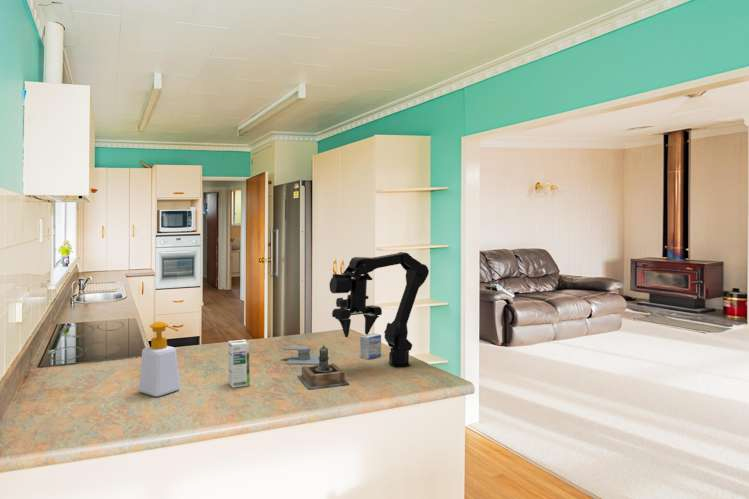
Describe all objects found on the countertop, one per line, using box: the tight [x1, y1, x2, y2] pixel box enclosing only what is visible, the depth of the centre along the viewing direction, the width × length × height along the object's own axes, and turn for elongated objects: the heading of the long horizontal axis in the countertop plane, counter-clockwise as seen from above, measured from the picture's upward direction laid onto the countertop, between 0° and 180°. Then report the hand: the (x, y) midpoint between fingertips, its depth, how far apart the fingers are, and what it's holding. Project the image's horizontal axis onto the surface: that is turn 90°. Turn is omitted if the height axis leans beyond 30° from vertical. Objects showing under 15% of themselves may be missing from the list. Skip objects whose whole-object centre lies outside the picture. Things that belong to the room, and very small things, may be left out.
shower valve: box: [281, 345, 320, 366], centre depth 211 cm, size 12×6×15 cm
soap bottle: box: [138, 321, 181, 397], centre depth 171 cm, size 10×14×22 cm
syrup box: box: [227, 339, 251, 389], centre depth 180 cm, size 6×6×14 cm
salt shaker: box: [315, 344, 332, 374], centre depth 185 cm, size 6×6×12 cm
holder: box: [297, 362, 350, 390], centre depth 186 cm, size 14×14×4 cm
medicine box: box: [359, 332, 382, 360], centre depth 217 cm, size 8×4×9 cm, turn 139°
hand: (356, 335), depth 197 cm, fingers open, 9 cm apart
